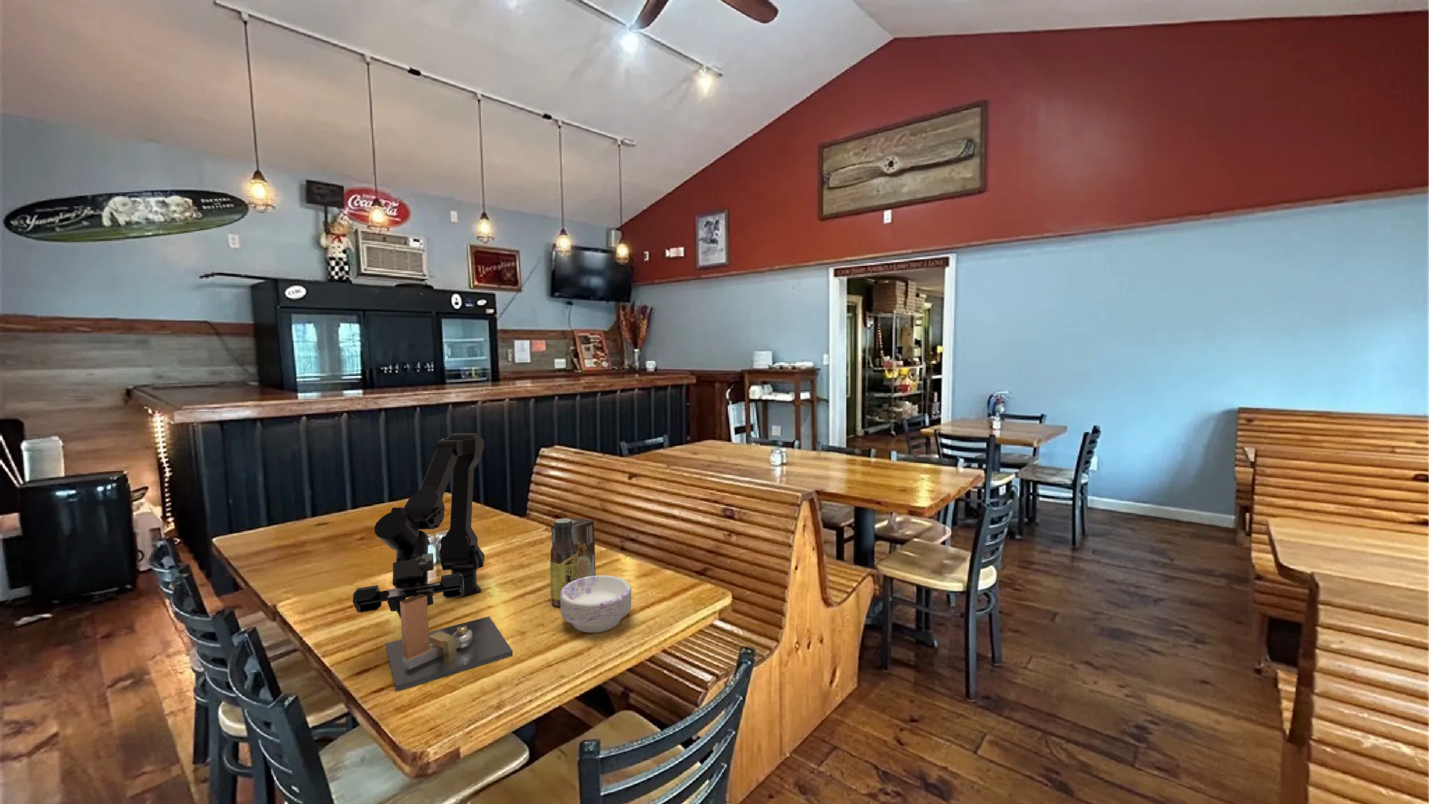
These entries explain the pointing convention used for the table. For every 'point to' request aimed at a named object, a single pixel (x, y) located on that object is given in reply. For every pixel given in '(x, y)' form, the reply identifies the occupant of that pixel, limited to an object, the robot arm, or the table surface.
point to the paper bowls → (595, 602)
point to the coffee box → (582, 545)
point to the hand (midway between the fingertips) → (410, 636)
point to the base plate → (479, 652)
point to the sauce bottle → (562, 559)
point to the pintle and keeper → (448, 643)
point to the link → (421, 633)
